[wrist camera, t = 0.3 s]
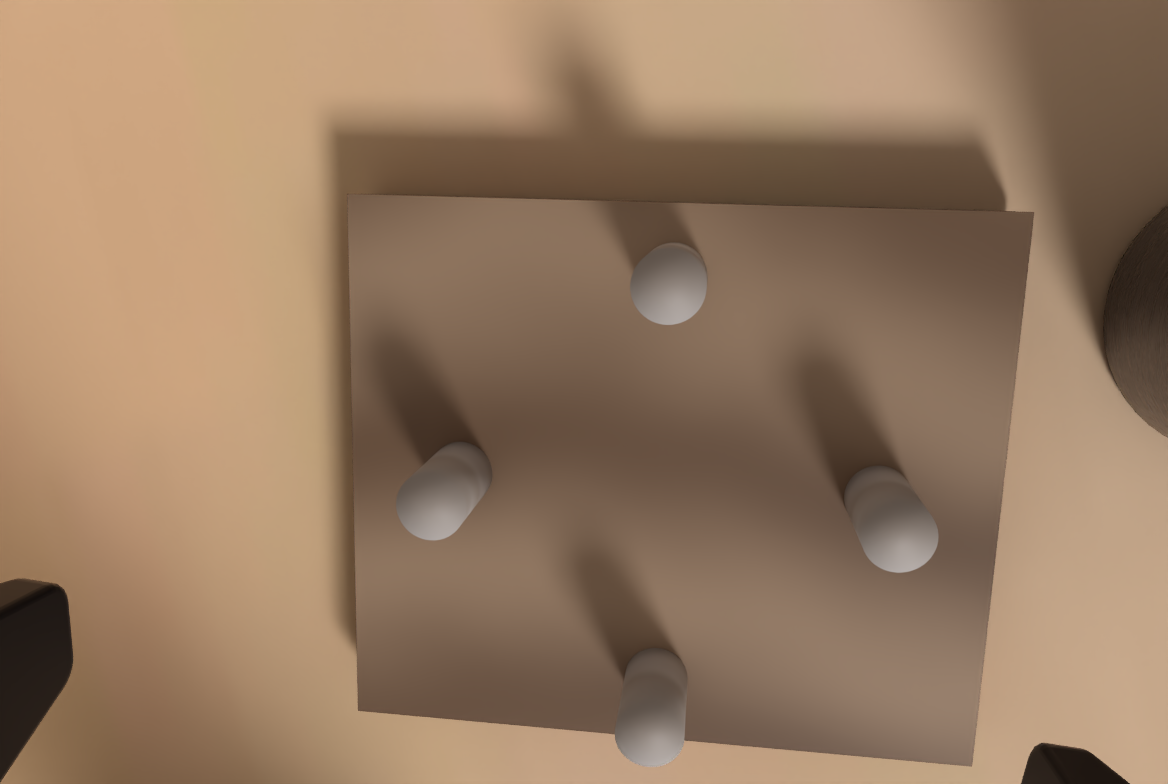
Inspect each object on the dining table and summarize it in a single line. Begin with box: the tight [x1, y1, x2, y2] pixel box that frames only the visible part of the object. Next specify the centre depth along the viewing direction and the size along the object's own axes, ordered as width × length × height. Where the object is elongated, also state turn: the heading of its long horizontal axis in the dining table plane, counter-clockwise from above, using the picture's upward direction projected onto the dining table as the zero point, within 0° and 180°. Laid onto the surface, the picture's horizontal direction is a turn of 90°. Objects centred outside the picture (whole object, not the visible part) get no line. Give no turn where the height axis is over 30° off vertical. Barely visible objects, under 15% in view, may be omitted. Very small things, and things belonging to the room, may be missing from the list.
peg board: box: [347, 194, 1034, 767], centre depth 21 cm, size 12×14×4 cm
